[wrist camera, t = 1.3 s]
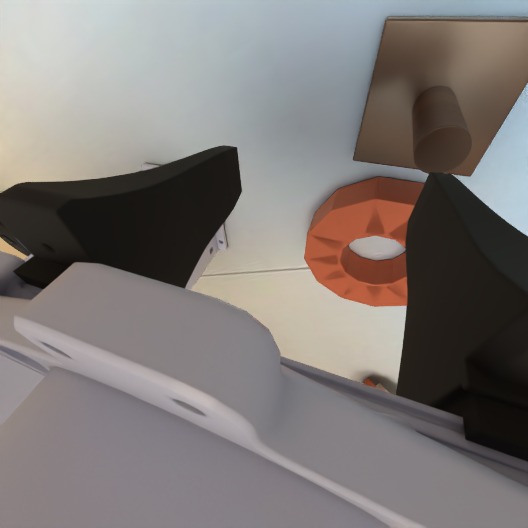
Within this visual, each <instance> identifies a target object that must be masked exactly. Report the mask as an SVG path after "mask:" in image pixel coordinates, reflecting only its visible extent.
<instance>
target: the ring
mask: <svg viewBox="0 0 528 528" xmlns="http://www.w3.org/2000/svg"><path fill="white" fill-rule="evenodd" d="M423 187H424V184H423V183H418V182H411V181H405V180H398V179H391V178H385V177H375V178H372V179H369V180H366V181H362V182H359V183H356V184H353V185H349V186H346V187H343V188H340V189H338V190H337V191H336V192H335V193H334V194H333V195H332V196H331V197H330V198H329V199H328V200H327V201H326V202H325V203H324V204H323V205H322V206H321V207H320V208H319V209H318V210H317V211H316V213H315V215H314V218H313V220H312V223H311V225H310V228H309V231H308V233H307V241H306V248H305V256H304V259H305V261H306V262H307V264H308V266H309V268H310V269H311V271H312V273H313V275H314V276H315V278H316V280H317V281H318V282H319V283H321V284H322V285H324V286H325V287H327V288H328V289H329V290H331V291H332V292H334V293H335V294H337V295H338V296H340V297H342V298H344V299H348V300H352V301H356V302H359V303H363V304H367V305H371V306H406V305H407V272H406V252H405V253H403V254H401V255H400V256H398V257H396V258H394V259H390V260H382V261H374V260H370V259H365V258H361V257H360V256H358V255H357V254H356V253H354V252H353V251H351V250H350V249H349V246H348V244H350V243H351V242H353V241H354V240H355V239H359V238H364V237H370V236H380V237H385V238H390V239H395V240H396V241H398V242H399V243H400V244H402V245H403V246H404V247H405V241H406V232H407V224H408V219H409V217H410V215H411V213H412V210H413V208H414V206H415V204H416V202H417V200H418V197H419V195H420V193H421V191H422V189H423Z"/></svg>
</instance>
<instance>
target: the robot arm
mask: <svg viewBox="0 0 528 528" xmlns="http://www.w3.org/2000/svg"><path fill="white" fill-rule="evenodd" d="M141 168H142V171H140V172H136V173H131V174H125V175H119V176H113V177H107V178H100V179H91V180H79V181H64V182H25V183H20V184H16V185H14V186H12V187H11V188H9V189H7V190H5V191H4V192H2V193H0V222H1V223H2V224H3V225H4V226H5V227H6V228H7V229H8V230H9V231H10V233H11V234H12V235H13V236H14V237H15V238H16V239H17V240H18V241H19V242H20V243H21V244H22V245H23V246H24V247H25V248H26V249H27V250H28V251H29V252H30V253H31V254H30V255H29V256H28V257H27V258H25V259H24V260H23V259H21V258H19V257H17V256H15V255H12V254H8V253H5V252H2V251H0V528H528V236H526V235H525V234H523V233H522V232H520V231H519V230H517V229H516V228H514V227H513V226H512V225H510V224H509V223H508V222H506V221H505V220H504V219H503V218H501V217H500V216H499V215H497V214H496V213H495V212H494V211H493V210H491V209H490V208H489V207H488V206H487V205H486V204H484V203H483V202H482V201H481V200H480V199H479V198H478V197H477V196H475V195H474V194H473V193H472V192H471V191H470V190H469V189H468V188H467V187H466V186H465V185H464V184H462V183H461V182H460V181H459V180H458V179H457V178H455V177H454V176H453V175H451V174H445V173H437V172H430V173H429V176H428V178H427V180H426V182H425V184H424V187H423V189H422V191H421V193H420V195H419V197H418V200H417V202H416V204H415V206H414V208H413V210H412V213H411V215H410V217H409V219H408V224H407V232H406V241H405V248H406V272H407V310H406V321H405V330H404V339H403V348H402V356H401V363H400V370H399V378H398V384H397V390H396V395H395V394H392V393H389V392H386V391H383V390H380V389H377V388H374V387H371V386H368V385H365V384H362V383H359V382H356V381H353V380H350V379H347V378H344V377H341V376H338V375H335V374H332V373H329V372H326V371H323V370H320V369H317V368H314V367H311V366H308V365H306V364H303V363H300V362H297V361H294V360H291V359H288V358H285V357H282V356H280V351H279V349H278V347H277V345H276V343H275V341H274V339H273V336H272V335H271V333H270V331H269V329H268V328H266V327H265V326H264V325H263V324H261V323H260V322H259V321H258V320H256V319H255V318H254V317H253V316H252V315H250V314H249V313H248V312H247V311H244V310H242V309H240V308H238V307H235V306H233V305H231V304H229V303H227V302H224V301H222V300H220V299H218V298H214V297H211V296H208V295H204V294H201V293H197V292H194V291H191V290H190V289H191V288H192V287H193V286H194V285H195V283H196V282H197V280H198V279H199V277H200V276H201V275H202V273H203V272H204V270H205V269H206V267H207V266H208V264H209V263H210V261H211V260H212V258H213V257H214V255H215V254H216V252H217V251H218V250H221V251H226V250H227V242H226V236H225V231H224V225H223V223H224V222H225V220H226V219H227V217H228V216H229V215H230V213H231V212H232V210H233V209H234V207H235V205H236V203H237V201H238V199H239V196H240V194H241V192H242V188H241V179H240V170H239V161H238V152H237V147H232V146H218V147H214V148H211V149H208V150H205V151H202V152H199V153H197V154H194V155H191V156H188V157H186V158H183V159H180V160H177V161H174V162H171V163H168V164H165V165H162V166H158V165H153V164H147V163H144V164H143V165H142V166H141Z"/></svg>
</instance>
